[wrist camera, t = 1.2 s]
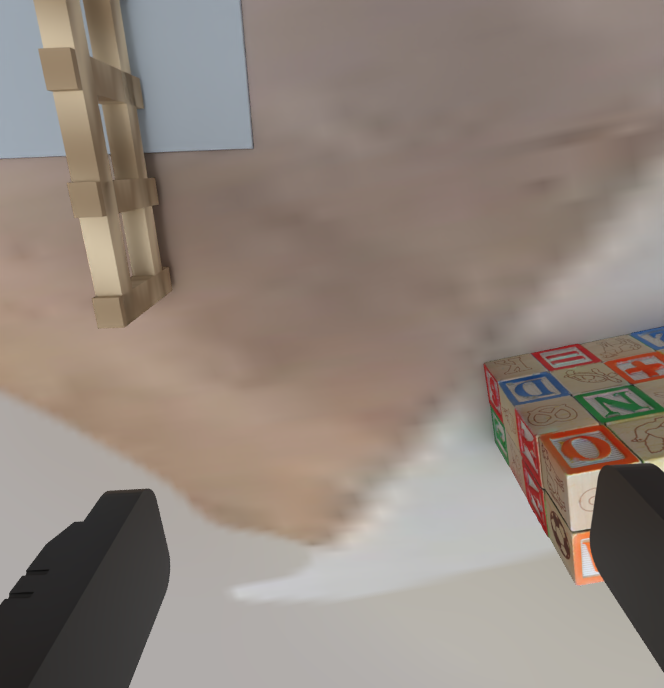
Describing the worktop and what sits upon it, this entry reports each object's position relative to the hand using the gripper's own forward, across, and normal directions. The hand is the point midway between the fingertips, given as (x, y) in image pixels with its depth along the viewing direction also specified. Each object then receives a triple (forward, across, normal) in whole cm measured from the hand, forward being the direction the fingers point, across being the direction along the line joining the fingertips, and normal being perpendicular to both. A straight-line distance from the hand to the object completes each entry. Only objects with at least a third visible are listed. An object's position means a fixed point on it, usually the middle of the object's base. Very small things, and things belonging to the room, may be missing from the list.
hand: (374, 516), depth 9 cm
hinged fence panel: (+21, +11, -8) cm, 25 cm away
